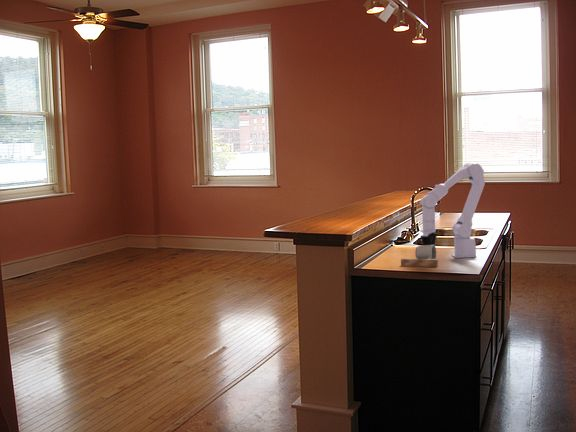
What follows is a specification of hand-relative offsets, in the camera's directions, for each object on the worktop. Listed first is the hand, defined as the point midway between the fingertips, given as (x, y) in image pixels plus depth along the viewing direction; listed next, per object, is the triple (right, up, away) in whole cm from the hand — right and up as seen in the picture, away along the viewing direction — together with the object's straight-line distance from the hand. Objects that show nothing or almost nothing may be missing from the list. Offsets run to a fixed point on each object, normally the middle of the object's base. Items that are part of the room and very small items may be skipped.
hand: (429, 249), depth 304 cm
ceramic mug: (-3, -5, -8) cm, 10 cm away
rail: (-8, -6, -17) cm, 20 cm away
